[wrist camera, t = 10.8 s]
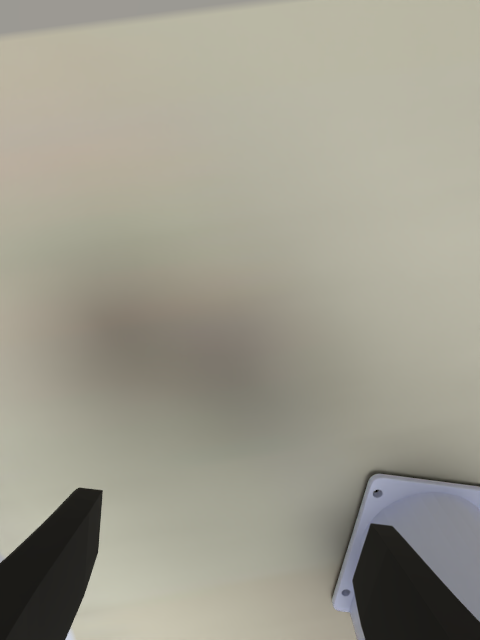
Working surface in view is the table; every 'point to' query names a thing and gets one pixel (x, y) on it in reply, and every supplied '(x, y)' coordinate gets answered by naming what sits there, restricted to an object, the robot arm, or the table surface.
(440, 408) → the table surface
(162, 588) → the table surface
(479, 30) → the table surface
